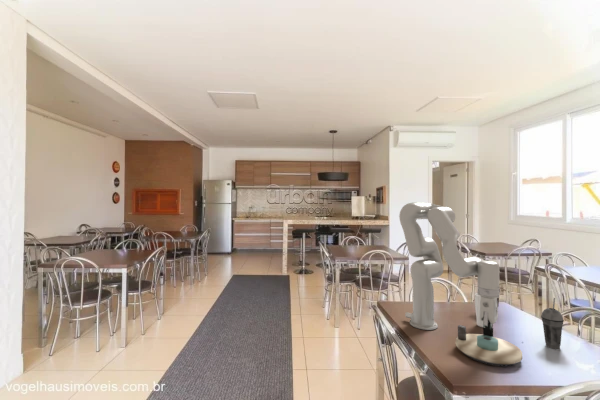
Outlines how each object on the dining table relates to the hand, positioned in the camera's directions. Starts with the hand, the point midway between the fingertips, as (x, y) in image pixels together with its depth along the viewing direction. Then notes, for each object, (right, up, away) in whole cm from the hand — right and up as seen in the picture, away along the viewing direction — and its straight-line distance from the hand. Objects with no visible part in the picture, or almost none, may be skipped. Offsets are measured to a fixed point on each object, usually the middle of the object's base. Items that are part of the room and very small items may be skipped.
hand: (488, 337), depth 122 cm
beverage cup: (+28, -5, +2) cm, 29 cm away
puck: (-3, -2, -5) cm, 6 cm away
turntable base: (-3, -5, -4) cm, 7 cm away
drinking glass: (+13, -6, +24) cm, 28 cm away
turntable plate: (-3, -3, -4) cm, 6 cm away
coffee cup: (+27, -6, +42) cm, 50 cm away
